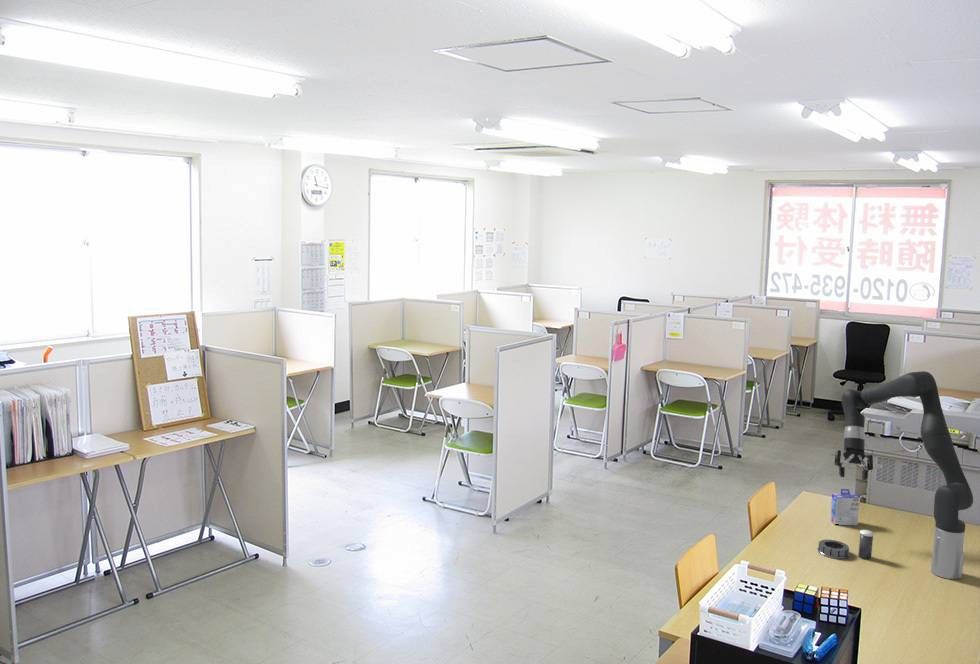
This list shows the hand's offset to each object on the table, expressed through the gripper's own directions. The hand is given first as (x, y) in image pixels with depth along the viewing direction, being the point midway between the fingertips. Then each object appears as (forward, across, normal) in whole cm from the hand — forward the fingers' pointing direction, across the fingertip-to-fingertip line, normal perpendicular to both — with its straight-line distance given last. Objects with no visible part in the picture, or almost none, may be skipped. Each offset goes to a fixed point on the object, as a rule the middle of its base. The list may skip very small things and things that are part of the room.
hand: (853, 478), depth 310 cm
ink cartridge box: (+16, +7, +24) cm, 30 cm away
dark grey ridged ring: (+30, -9, -5) cm, 32 cm away
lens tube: (+30, +2, -8) cm, 31 cm away
